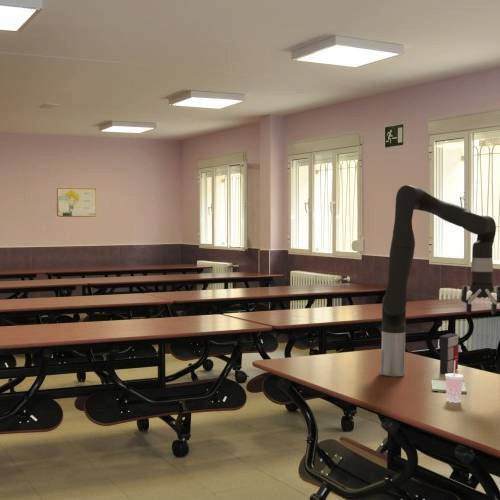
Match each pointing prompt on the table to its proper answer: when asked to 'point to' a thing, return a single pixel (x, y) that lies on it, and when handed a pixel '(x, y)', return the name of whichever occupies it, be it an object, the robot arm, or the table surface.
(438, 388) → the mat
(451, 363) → the grey and red box
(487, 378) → the table surface
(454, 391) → the beverage cup
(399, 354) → the robot arm
